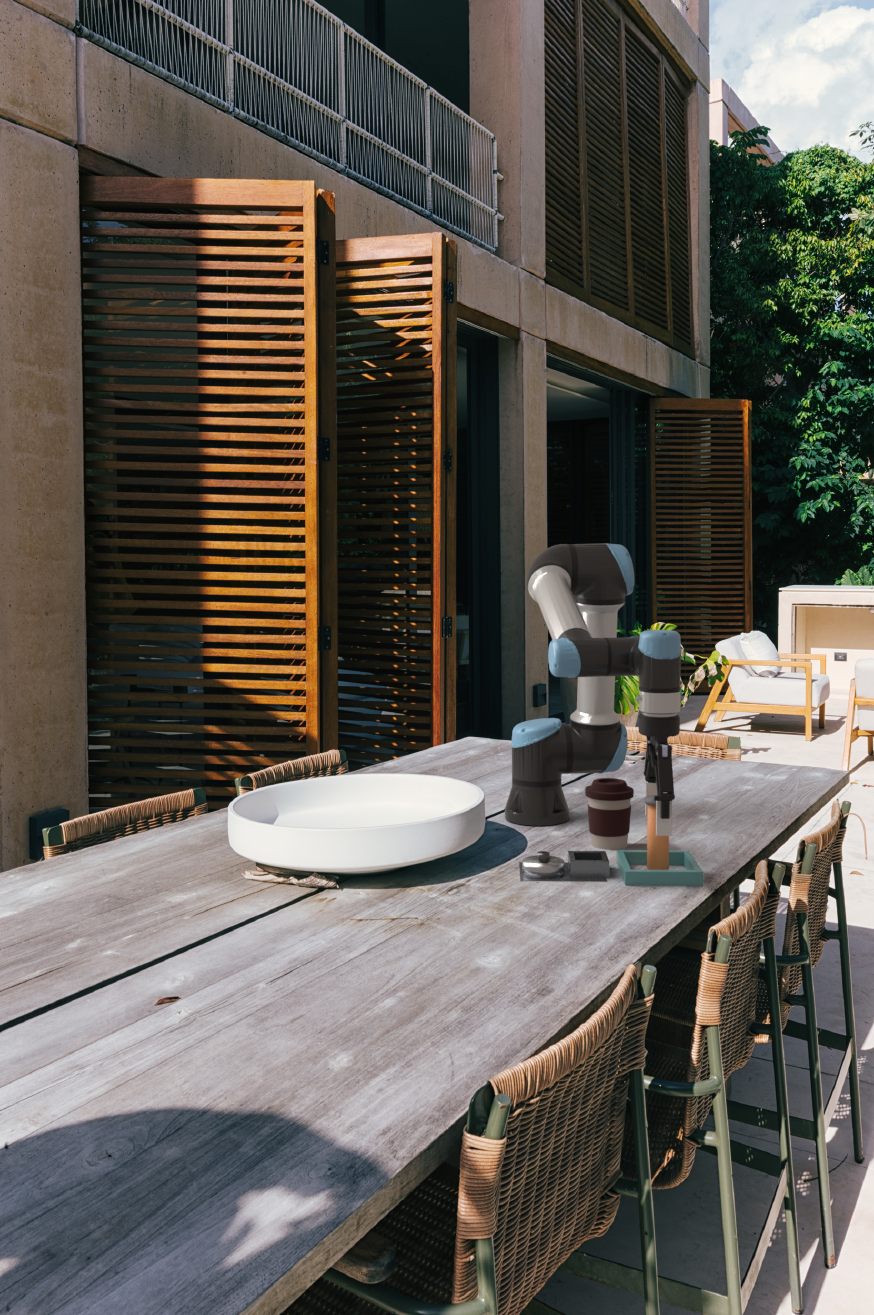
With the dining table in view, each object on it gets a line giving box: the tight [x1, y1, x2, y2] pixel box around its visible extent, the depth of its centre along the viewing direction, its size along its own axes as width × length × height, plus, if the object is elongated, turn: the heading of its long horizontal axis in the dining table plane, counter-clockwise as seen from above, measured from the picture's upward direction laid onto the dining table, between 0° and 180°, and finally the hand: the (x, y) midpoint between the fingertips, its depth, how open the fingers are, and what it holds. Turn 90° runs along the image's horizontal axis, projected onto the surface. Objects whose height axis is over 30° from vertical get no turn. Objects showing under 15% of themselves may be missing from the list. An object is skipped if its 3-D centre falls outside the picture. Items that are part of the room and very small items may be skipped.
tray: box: [615, 849, 704, 887], centre depth 192 cm, size 14×14×4 cm
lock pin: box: [644, 795, 670, 870], centre depth 191 cm, size 5×5×15 cm
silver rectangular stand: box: [518, 850, 610, 883], centre depth 194 cm, size 12×17×5 cm
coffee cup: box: [584, 777, 635, 851], centre depth 212 cm, size 10×10×15 cm
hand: (657, 825), depth 191 cm, fingers open, 13 cm apart
